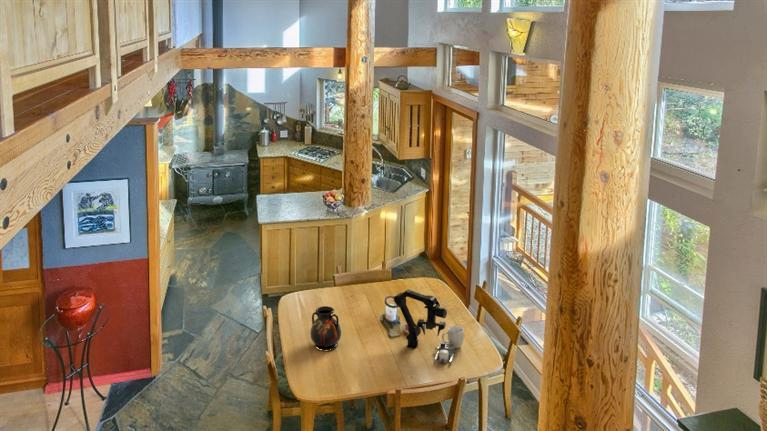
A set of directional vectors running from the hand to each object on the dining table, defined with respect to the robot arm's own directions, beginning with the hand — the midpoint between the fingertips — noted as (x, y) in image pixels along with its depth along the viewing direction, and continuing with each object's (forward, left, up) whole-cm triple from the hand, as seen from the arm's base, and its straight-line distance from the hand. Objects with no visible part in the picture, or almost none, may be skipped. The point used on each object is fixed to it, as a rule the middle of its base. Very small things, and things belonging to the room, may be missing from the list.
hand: (431, 335), depth 441 cm
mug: (+14, +11, -12) cm, 22 cm away
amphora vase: (-72, -12, -12) cm, 74 cm away
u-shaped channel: (+10, -6, -12) cm, 17 cm away
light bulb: (+11, -12, -12) cm, 20 cm away
